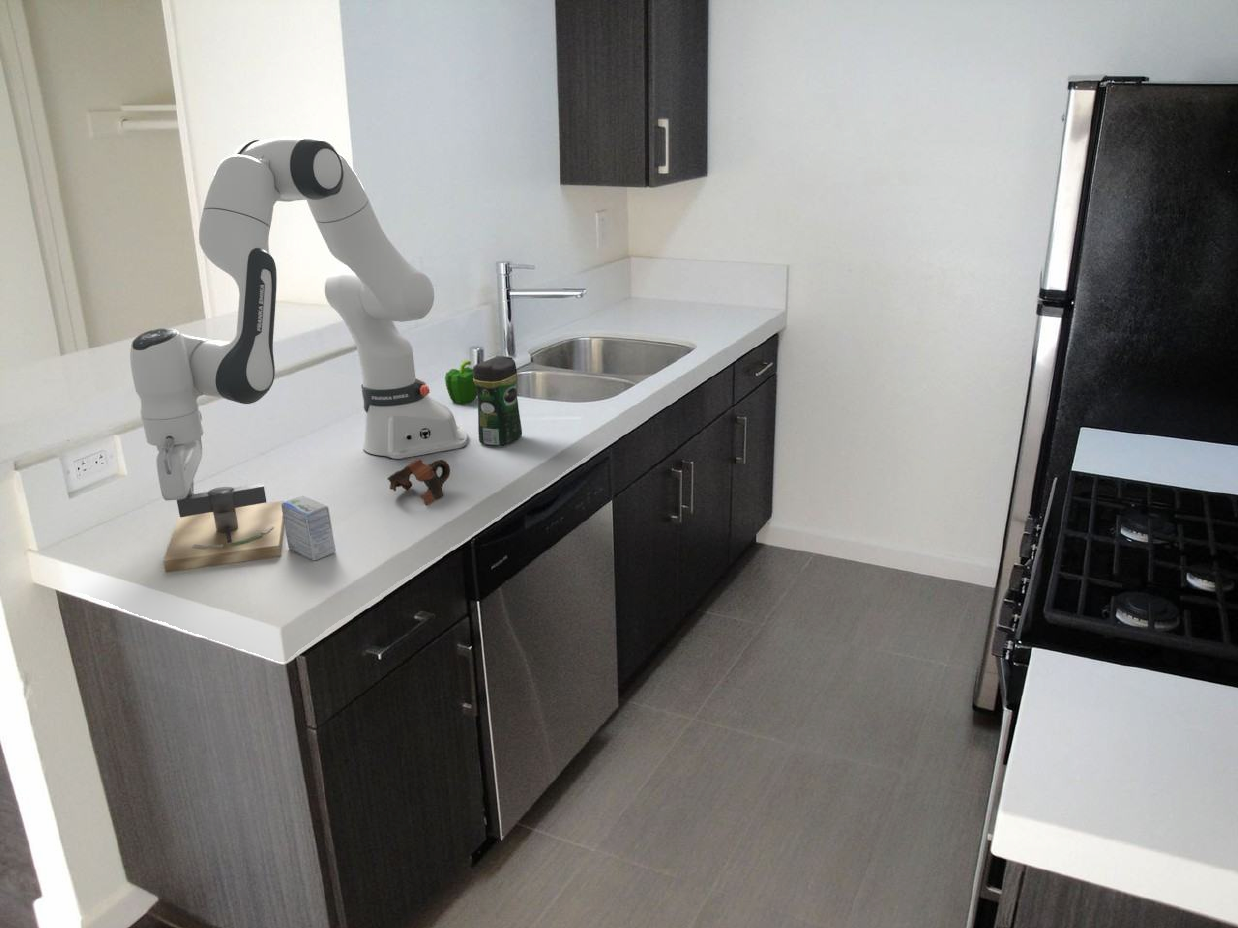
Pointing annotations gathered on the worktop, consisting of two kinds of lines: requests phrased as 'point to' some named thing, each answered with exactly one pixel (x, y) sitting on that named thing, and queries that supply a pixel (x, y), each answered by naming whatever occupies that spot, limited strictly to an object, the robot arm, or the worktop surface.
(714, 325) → the worktop surface
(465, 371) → the bell pepper
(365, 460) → the worktop surface
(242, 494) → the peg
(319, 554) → the medicine box
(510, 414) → the coffee jar
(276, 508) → the tuner board
